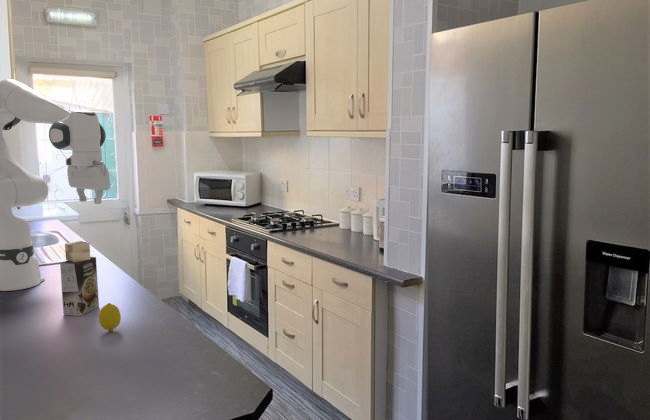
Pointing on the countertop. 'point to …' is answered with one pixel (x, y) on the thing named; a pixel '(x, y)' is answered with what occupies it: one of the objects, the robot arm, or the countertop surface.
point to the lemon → (109, 317)
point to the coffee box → (79, 287)
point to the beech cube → (77, 251)
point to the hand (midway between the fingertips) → (90, 202)
